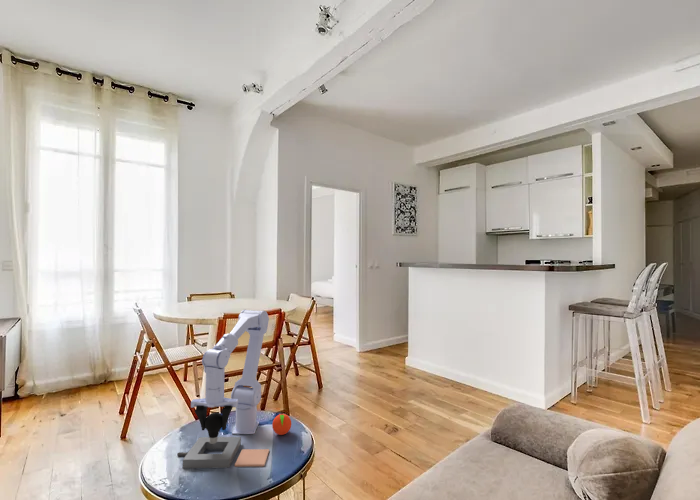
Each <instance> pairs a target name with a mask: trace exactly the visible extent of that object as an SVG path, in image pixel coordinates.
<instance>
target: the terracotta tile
mask: <svg viewBox="0 0 700 500" xmlns="http://www.w3.org/2000/svg"><path fill="white" fill-rule="evenodd" d="M269 453H270V449H269V448H265V449H264V448H262V449H261V448H257V449H254V448H251V449H248V448H247V449H245V448H244V449H241V451H240V453H239V454H238V457H237V459H236V461H235V463H234V467H236V468H237V467H241V468H245V467H265V465H266V462H267V459H268V456H269Z"/></svg>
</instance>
